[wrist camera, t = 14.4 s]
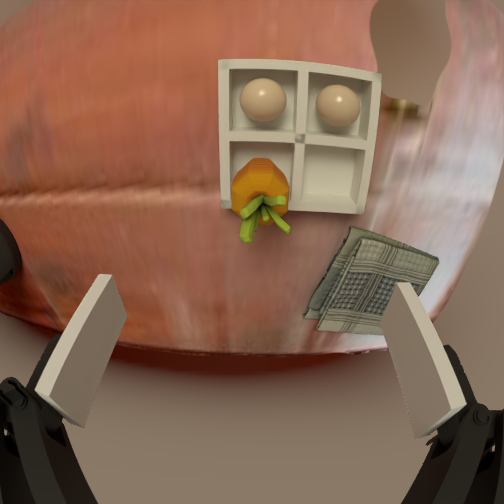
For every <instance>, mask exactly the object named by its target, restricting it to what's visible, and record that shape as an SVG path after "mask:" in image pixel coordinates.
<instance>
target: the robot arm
mask: <svg viewBox="0 0 504 504" xmlns="http://www.w3.org/2000/svg"><path fill="white" fill-rule="evenodd" d="M20 268H21V257H20V253H19V249H18V247H17V244H16V242H15V240H14V238H13V236H12V234H11V232H10V231H9V229H8V228H7V227H6V225H5V224H4V223H3V222H2V221H1V220H0V285H2V284H4V283H6V282H7V281H9V280H11V279H12V278H14V277H15V275H16V274H17V273H18V272H19V270H20ZM126 318H127V313H126V311H125V308H124V306H123V303H122V300H121V298H120V295H119V292H118V289H117V287H116V284H115V281H114V278H113V275H107V274H99V275H98V277H97V278H96V280H95V281H94V283H93V284H92V286H91V287H90V289H89V291H88V292H87V294H86V295H85V297H84V299H83V300H82V302H81V303H80V305H79V307H78V308H77V310H76V312H75V313H74V315H73V317H72V318H71V320H70V322H69V324H68V325H67V327H66V329H65V331H64V332H63V334H62V335H61V334H57V335H56V336H55V337H53V338H52V339H51V341H49V343H48V345H47V347H46V349H45V351H44V353H43V354H42V356H41V360H40V361H39V362H38V364H37V366H36V368H35V370H34V372H33V374H32V376H31V378H30V380H29V382H28V384H27V386H26V388H24V386H23V385H21V383H20V382H19V381H18V380H17V379H16V378H13V377H9V378H6V379H5V380H3V381H2V383H1V384H0V504H98V503H97V501H96V499H95V497H94V495H93V493H92V491H91V489H90V487H89V485H88V483H87V481H86V479H85V477H84V475H83V472H82V470H81V468H80V466H79V463H78V461H77V459H76V456H75V454H74V451H73V449H72V446H71V443H70V441H69V438H68V435H67V432H66V429H65V426H64V424H63V423H62V419H63V417H64V418H65V419H66V420H67V421H68V422H69V423H71V424H74V425H77V426H79V427H82V428H84V427H85V423H86V420H87V418H88V415H89V412H90V409H91V406H92V403H93V400H94V397H95V395H96V392H97V389H98V386H99V384H100V381H101V378H102V376H103V373H104V371H105V368H106V365H107V363H108V361H109V358H110V356H111V353H112V351H113V348H114V346H115V344H116V341H117V339H118V337H119V334H120V332H121V330H122V327H123V325H124V323H125V321H126ZM380 326H381V329H382V332H383V334H384V337H385V340H386V343H387V346H388V349H389V351H390V354H391V357H392V360H393V364H394V367H395V369H396V373H397V376H398V379H399V382H400V386H401V389H402V393H403V396H404V400H405V403H406V407H407V410H408V414H409V418H410V422H411V426H412V430H413V434H414V438H415V439H417V438H420V437H424V436H427V435H430V434H431V433H432V432H434V431H435V430H436V429H437V431H438V434H437V435H436V436H435V437H433V438H432V439H430V440H429V441H428V442H427V444H426V445H427V446H428V445H429V444H431V443H432V442H433V444H432V445H431V448H430V451H429V453H428V454H427V457H426V459H425V461H424V463H423V465H422V467H421V469H420V471H419V473H418V475H417V477H416V479H415V480H414V482H413V484H412V486H411V488H410V489H409V491H408V493H407V495H406V496H405V498H404V500H403V501H402V503H401V504H504V409H503V410H488V408H487V407H486V406H485V405H483V404H480V403H477V401H476V399H475V396H474V394H473V391H472V389H471V386H470V384H469V381H468V379H467V376H466V374H465V373H464V370H463V367H462V365H460V360H459V358H458V356H457V354H456V352H455V351H454V350H453V349H452V348H451V347H450V346H449V345H444V346H443V345H442V343H441V341H440V339H439V337H438V335H437V333H436V331H435V329H434V326H433V324H432V322H431V321H430V319H429V317H428V315H427V313H426V311H425V309H424V307H423V305H422V303H421V301H420V300H419V298H418V296H417V294H416V292H415V291H414V289H413V287H412V285H411V283H410V282H401V283H396V285H395V288H394V290H393V293H392V295H391V298H390V300H389V303H388V305H387V307H386V310H385V312H384V314H383V317H382V319H381V321H380ZM4 429H5V430H7V435H4ZM494 445H495V451H494V452H493V451H492V446H494Z"/></svg>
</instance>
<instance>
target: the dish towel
mask: <svg viewBox="0 0 504 504" xmlns="http://www.w3.org/2000/svg"><path fill="white" fill-rule="evenodd" d="M349 228H350V229H351V231H350V233H349V236H348V237H347V239H346V240H345V238H344V240H343V242H344V243H343V244H342V246H341V247H340V248H339V250H338V252H337V254H336V255H335V256H334V258H333V260H332V262H331V263H330V265H329V267H328V269H327V271H328V273H327V274H326V275H325V276H326V277H323V278H322V279H321V281H320V283H319V285H318V287H317V288H316V290H315V292H314V294H313V296H312V298H311V300H310V303H309V305H308V307H309V310H308V312H306V311H304V312H303V314H302V315H303V316H304V317H303V318H304V319H315V320H320V321H319V324H318V325H317V326H316V328H317V330H321V331H333V332H345V333H357V334H375V335H376V334H377V335H384V334H383V332H382V329H381V326H380V321H381V319H382V317H383V314H384V312H385V310H386V307H387V305H388V303H389V300H390V298H391V295H392V293H393V290H394V288H395V285H396V283H401V282H410V283H411V285H412V287H413V289H414V291H415V292H416V294H417V296H418V297H419V295H420V294H421V292H422V291H423V289H424V288H425V286H426V284H427V283H428V281H429V279H430V278H431V276H432V275H433V273H434V271H435V269H436V267H437V266H438V264H439V259H438V257H434V256H432V255H430V254H428V253H425V252H423V251H420V250H418V249H415V248H413V247H411V246H409V245H406V244H404V243H401V242H398V241H396V240H393V239H391V238H387V237H385V236H382V235H380V234H377V233H374V232H371V231H368V230H363V229H360V228H356V227H349ZM308 307H307V308H308Z"/></svg>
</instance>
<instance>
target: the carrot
mask: <svg viewBox="0 0 504 504" xmlns="http://www.w3.org/2000/svg"><path fill="white" fill-rule="evenodd" d="M288 200H289V184H288V181H287V179H286V177H285V175H284V173H283V172H282V171H281V170H280V169H279V168H278V167H277V166H276V165H275V164H274V163H273V162H272V161H271V160H270V159H268V158H253V159H251V160H250V161H249V162H248V163H247V164H246V165H245V166H244V167H243V168H242V169H240V170H239V171H238V172H237V174H236V176H235V177H234V179H233V182H232V184H231V209H232V211H234V212H235V213H236V214H237V215H238V216H239V217H240V218H241V219H242V220H243V222H242V225H241V230H240V236H239V237H240V239H241V241H242V242H244V243H247V244H249V243H252V242H253V236H254V232H256V229H257V225H267V226H270V225H271V224H273V223H274V222H275V223H276V225H277V226H278V227H279V228H280V229H281V230H282V231H283V232H284V233H286V234H287V235H288V234H289V233H290V231H291V228H290V226H289V225H288V224H287V223H285V222H284V221H283V220H282V219H281V218H280V217H281V216H282V215H284V214H285V213H286V212H287V211H288Z"/></svg>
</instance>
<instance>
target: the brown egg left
mask: <svg viewBox="0 0 504 504" xmlns="http://www.w3.org/2000/svg"><path fill="white" fill-rule="evenodd" d="M239 101H240V106H241V109H242V111H243V112H244V113H245V115H246V116H248V117H249V118H251V119H252V120H255V121H259V122H268V121H272V120H274V119H276V118H278V117H279V116H280V115H281V114H282V113H283V111H284V110H285V107H286V103H287V98H286V94H285V91H284V89H283V88H282V87H281V85H279V84H278V83H277V82H275V81H273V80H271V79H267V78H259V79H255V80H252V81H250V82H249V83H247V84H246V85H245V86H244V88H243V89H242V91H241V93H240V99H239Z"/></svg>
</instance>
